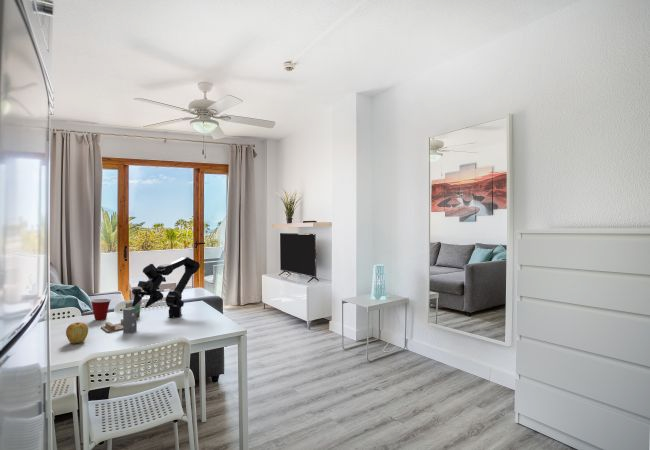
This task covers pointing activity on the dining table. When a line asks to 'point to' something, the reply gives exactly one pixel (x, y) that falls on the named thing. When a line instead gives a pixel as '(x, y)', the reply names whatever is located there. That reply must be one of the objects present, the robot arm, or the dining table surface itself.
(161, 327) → the dining table surface
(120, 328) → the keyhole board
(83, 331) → the apple
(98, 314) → the plastic cup
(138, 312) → the food container
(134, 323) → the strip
